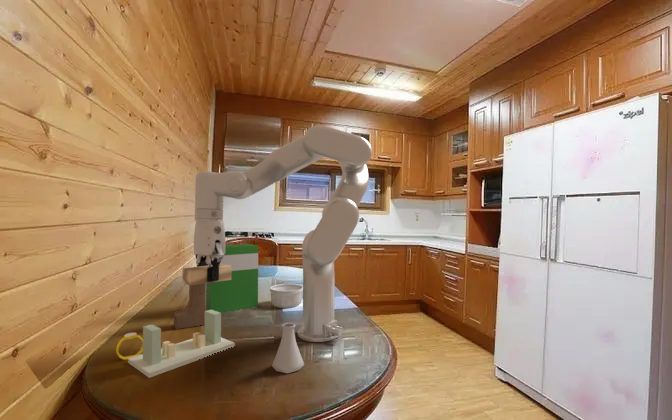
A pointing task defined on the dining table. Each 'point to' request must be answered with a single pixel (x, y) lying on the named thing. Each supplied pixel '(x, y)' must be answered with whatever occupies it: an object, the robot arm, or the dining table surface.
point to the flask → (288, 351)
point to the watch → (129, 336)
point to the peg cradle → (179, 347)
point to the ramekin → (286, 295)
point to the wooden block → (192, 309)
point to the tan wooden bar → (204, 274)
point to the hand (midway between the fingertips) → (207, 278)
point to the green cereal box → (236, 281)
